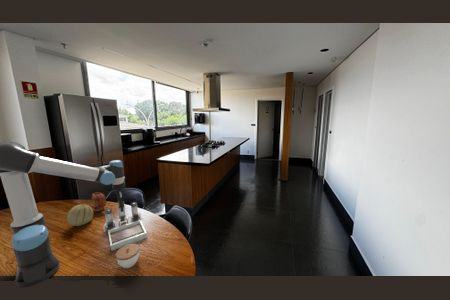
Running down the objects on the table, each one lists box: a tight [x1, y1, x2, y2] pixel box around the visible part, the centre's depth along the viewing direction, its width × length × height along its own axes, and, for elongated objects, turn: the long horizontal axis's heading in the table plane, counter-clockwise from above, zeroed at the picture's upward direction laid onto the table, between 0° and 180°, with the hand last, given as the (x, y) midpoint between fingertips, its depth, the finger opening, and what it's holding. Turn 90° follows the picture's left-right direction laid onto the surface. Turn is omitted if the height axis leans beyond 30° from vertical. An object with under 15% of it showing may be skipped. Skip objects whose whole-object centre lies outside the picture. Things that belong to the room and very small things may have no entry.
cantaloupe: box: [66, 203, 94, 227], centre depth 129 cm, size 15×15×15 cm
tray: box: [107, 220, 148, 252], centre depth 117 cm, size 18×20×4 cm
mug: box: [90, 192, 107, 212], centre depth 148 cm, size 15×8×15 cm, turn 62°
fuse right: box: [130, 201, 139, 220], centre depth 134 cm, size 4×4×12 cm
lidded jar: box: [115, 243, 140, 269], centre depth 95 cm, size 11×11×9 cm
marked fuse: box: [117, 201, 127, 220], centre depth 128 cm, size 4×4×12 cm
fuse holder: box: [102, 212, 144, 233], centre depth 130 cm, size 10×24×4 cm, turn 127°
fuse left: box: [104, 208, 114, 228], centre depth 124 cm, size 4×4×12 cm
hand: (122, 213), depth 129 cm, fingers closed on marked fuse, 4 cm apart
